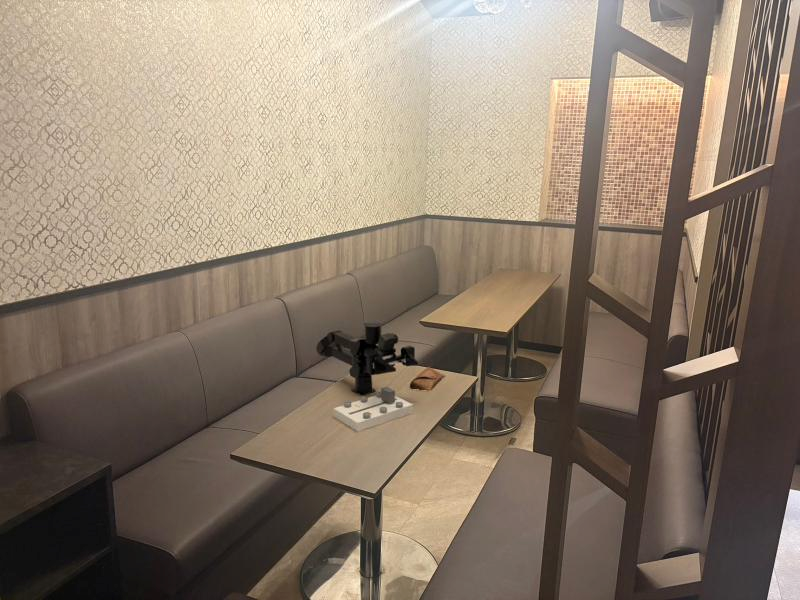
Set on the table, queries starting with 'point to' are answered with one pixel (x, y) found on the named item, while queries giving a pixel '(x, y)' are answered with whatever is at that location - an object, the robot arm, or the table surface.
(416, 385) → the sunglasses case
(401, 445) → the table surface
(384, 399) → the fader
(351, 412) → the mixer console
